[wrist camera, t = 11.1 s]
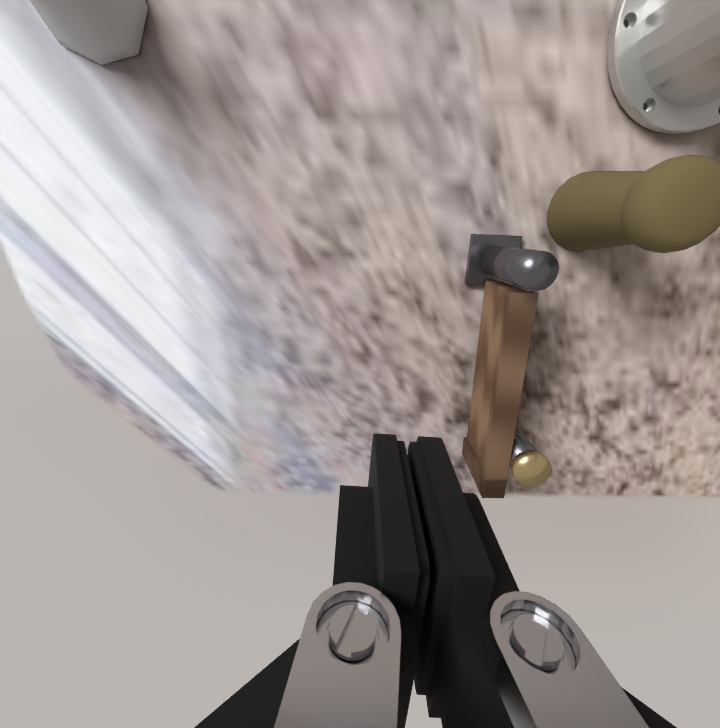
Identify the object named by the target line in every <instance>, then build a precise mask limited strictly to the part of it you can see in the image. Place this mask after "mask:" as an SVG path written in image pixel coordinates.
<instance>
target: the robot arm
mask: <svg viewBox="0 0 720 728" xmlns="http://www.w3.org/2000/svg"><path fill="white" fill-rule="evenodd" d="M607 59H608V73H609V77H610V81H611V85H612V88H613V91H614V93H615V95H616V97H617V99H618V101H619V103H620V105H621V106H622V108H623V109H624V110H625V111H626V113H627V114H628V115H629V116H630V117H631V118H632V119H633V120H635V121H636V122H637V123H639V124H640V125H641V126H643V127H646V128H648V129H650V130H653V131H655V132H660V133H666V134H681V133H689V132H693V131H697V130H701V129H705V128H707V127H710V126H713V125H715V124H718V123H720V0H619V1H618V3H617V5H616V8H615V10H614V14H613V18H612V22H611V26H610V30H609V38H608V48H607ZM413 680H414V682H415V689H416V693H417V695H426V699H427V706H428V713H429V717H433V718H441V721H442V726H443V728H676V727H675V726H673V725H672V724H671V723H669V722H668V721H667V720H665V719H664V718H663V717H661V716H660V715H659V714H657V713H656V712H654V711H653V710H652V709H650V708H649V707H647V706H646V705H645V704H644V703H642V702H641V701H639V700H638V699H637V698H635V697H634V696H632V695H631V694H630V693H628V692H627V691H626V690H624V689H623V688H622V687H621V686H620V685H619V684H618V682H617V681H616V679H615V678H614V676H613V675H612V673H611V672H610V670H609V669H608V668H607V666H606V665H605V663H604V662H603V660H602V659H601V658H600V656H599V655H598V653H597V652H596V650H595V649H594V648H593V646H592V645H591V643H590V642H589V640H588V639H587V638H586V636H585V635H584V633H583V632H582V630H581V629H580V628H579V627H578V625H577V624H576V623H575V622H574V621H573V619H572V618H571V617H570V616H569V615H568V614H567V613H566V612H564V611H563V610H562V609H561V608H559V607H558V606H557V605H556V604H554V603H552V602H550V601H548V600H547V599H545V598H543V597H541V596H538V595H535V594H532V593H529V592H520V591H519V589H518V587H517V584H516V582H515V580H514V578H513V575H512V573H511V571H510V569H509V566H508V564H507V562H506V560H505V557H504V555H503V553H502V550H501V548H500V546H499V544H498V541H497V539H496V537H495V535H494V532H493V530H492V528H491V526H490V523H489V521H488V519H487V516H486V514H485V512H484V510H483V507H482V505H481V503H480V501H479V499H478V497H477V495H475V494H474V493H463V492H462V489H461V486H460V484H459V481H458V479H457V476H456V474H455V471H454V468H453V466H452V463H451V461H450V458H449V456H448V453H447V451H446V448H445V445H444V443H443V440H442V439H441V438H436V437H421V436H419V437H418V439H417V442H410V443H409V448H408V455H407V453H406V448H405V443H404V441H397V438H396V435H390V434H375V433H374V435H373V442H372V452H371V462H370V472H369V482H368V487H360V486H344V485H340V496H339V509H338V524H337V536H336V549H335V562H334V576H333V586H332V587H330V588H329V589H327V590H325V591H323V592H322V593H321V594H320V595H319V596H318V597H317V599H316V600H315V601H314V602H313V603H312V606H311V608H310V610H309V612H308V614H307V617H306V621H305V624H304V627H303V631H302V634H301V638H300V639H299V640H297V642H295V643H294V644H293V645H292V646H291V647H289V648H288V649H287V650H286V651H284V652H283V653H282V654H281V655H280V656H279V657H277V658H276V659H275V660H274V661H273V662H271V663H270V664H269V665H268V666H267V667H266V668H264V669H263V670H262V671H261V672H260V673H259V674H257V675H256V676H255V677H254V678H253V679H251V680H250V681H249V682H248V683H247V684H245V685H244V686H243V687H242V688H241V689H240V690H238V691H237V692H236V693H235V694H234V695H232V696H231V697H230V698H229V699H228V700H227V701H225V702H224V703H223V704H222V705H221V706H219V707H218V708H217V709H216V710H215V711H214V712H212V713H211V714H210V715H209V716H208V717H206V718H205V719H204V720H203V721H202V722H200V723H199V724H198V725H197V726H196V727H195V728H404V727H405V723H406V717H407V712H408V707H409V701H410V696H411V691H412V686H413Z"/></svg>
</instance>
